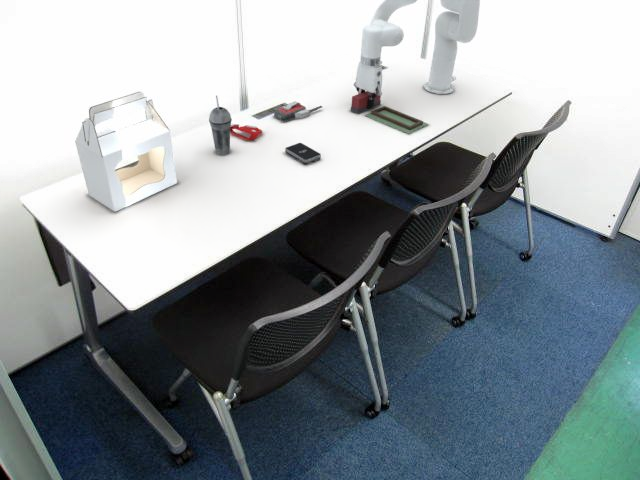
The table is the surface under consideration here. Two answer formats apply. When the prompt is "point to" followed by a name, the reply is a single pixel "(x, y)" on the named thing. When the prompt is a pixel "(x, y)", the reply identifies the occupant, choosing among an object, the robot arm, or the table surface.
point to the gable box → (125, 153)
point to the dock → (396, 119)
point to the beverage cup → (220, 129)
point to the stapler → (363, 102)
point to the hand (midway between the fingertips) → (365, 106)
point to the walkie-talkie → (293, 111)
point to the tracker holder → (248, 129)
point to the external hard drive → (303, 153)
